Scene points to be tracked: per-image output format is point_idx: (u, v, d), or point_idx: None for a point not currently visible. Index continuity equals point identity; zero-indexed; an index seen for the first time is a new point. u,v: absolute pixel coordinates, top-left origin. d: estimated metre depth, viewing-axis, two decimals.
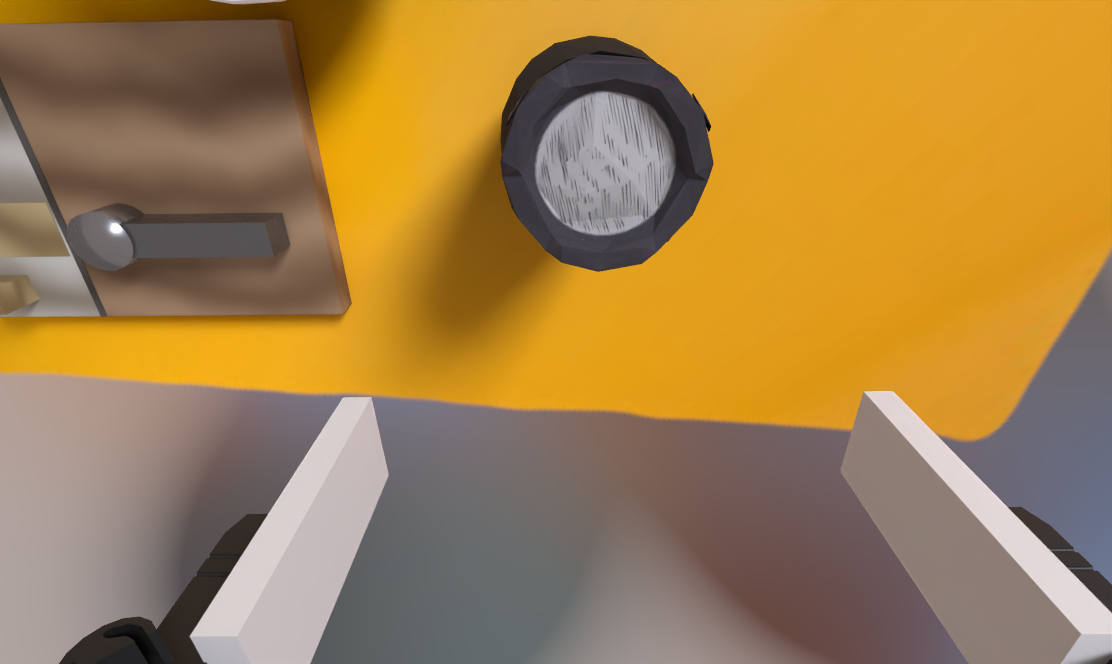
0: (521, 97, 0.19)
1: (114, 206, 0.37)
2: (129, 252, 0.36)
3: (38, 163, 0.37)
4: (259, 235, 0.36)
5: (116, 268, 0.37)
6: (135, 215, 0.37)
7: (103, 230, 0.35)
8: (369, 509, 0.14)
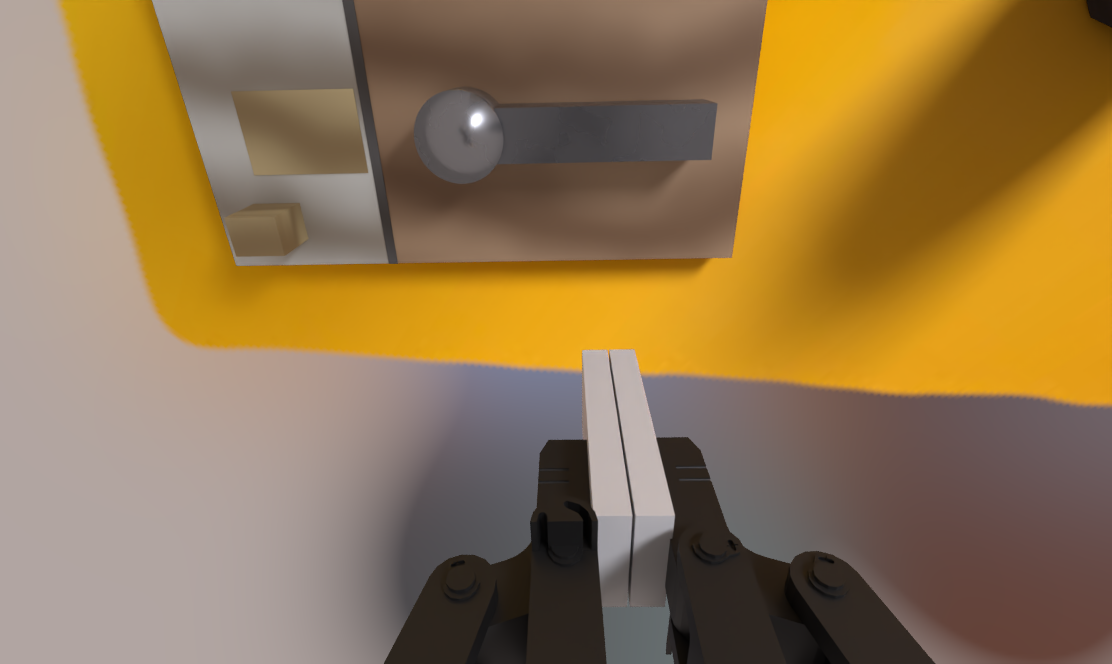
0: None
1: (469, 88, 0.25)
2: (500, 153, 0.24)
3: (357, 24, 0.25)
4: (701, 125, 0.24)
5: (472, 180, 0.25)
6: (495, 102, 0.25)
7: (471, 117, 0.23)
8: None
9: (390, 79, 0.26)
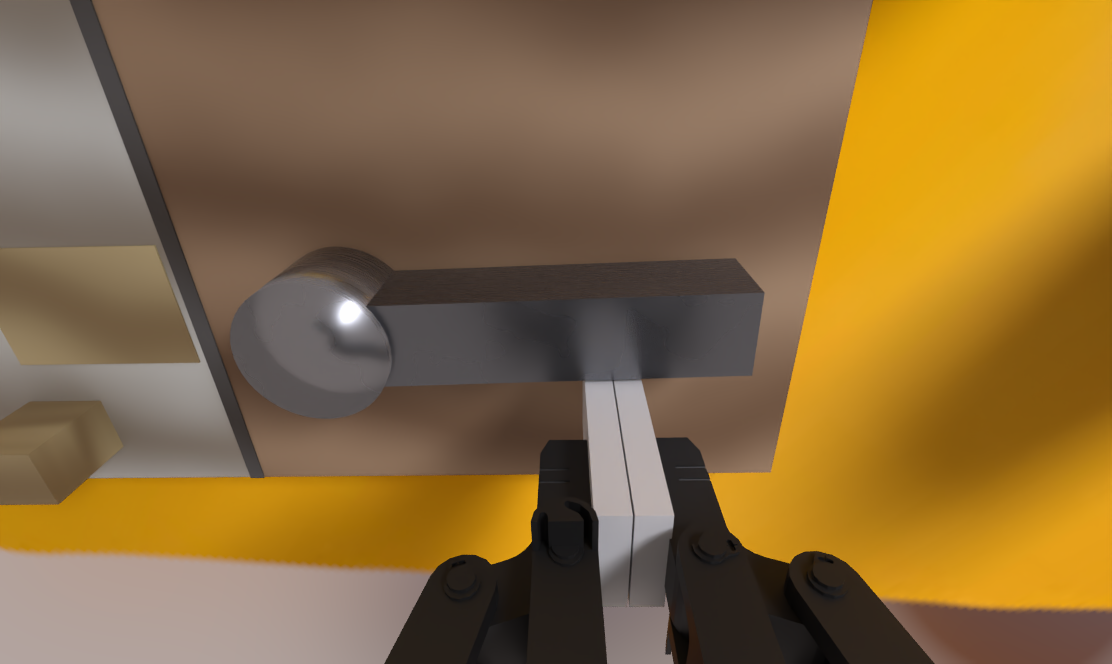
0: None
1: (335, 256, 0.14)
2: (385, 376, 0.14)
3: (145, 149, 0.14)
4: (735, 325, 0.13)
5: (344, 413, 0.14)
6: (383, 276, 0.15)
7: (328, 325, 0.13)
8: None
9: (214, 232, 0.15)
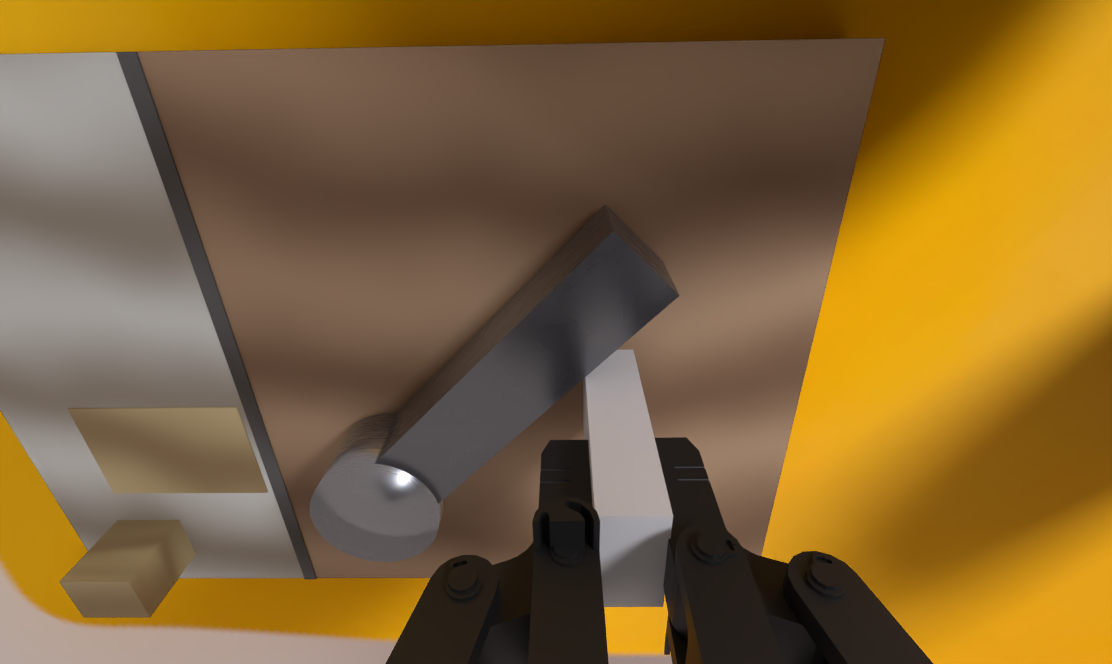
0: None
1: (350, 436, 0.18)
2: (427, 498, 0.16)
3: (235, 339, 0.17)
4: (620, 272, 0.13)
5: (430, 539, 0.17)
6: (387, 426, 0.17)
7: (363, 492, 0.16)
8: None
9: (288, 398, 0.18)
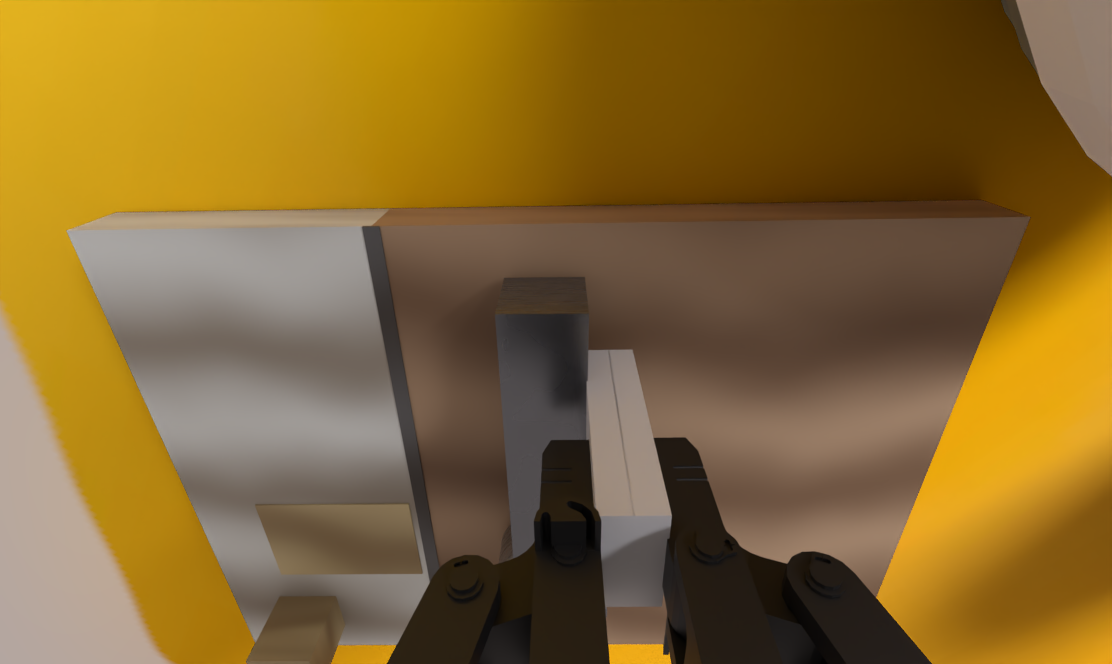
0: None
1: (499, 557, 0.20)
2: None
3: (418, 449, 0.19)
4: (530, 334, 0.14)
5: None
6: None
7: None
8: None
9: (456, 496, 0.20)
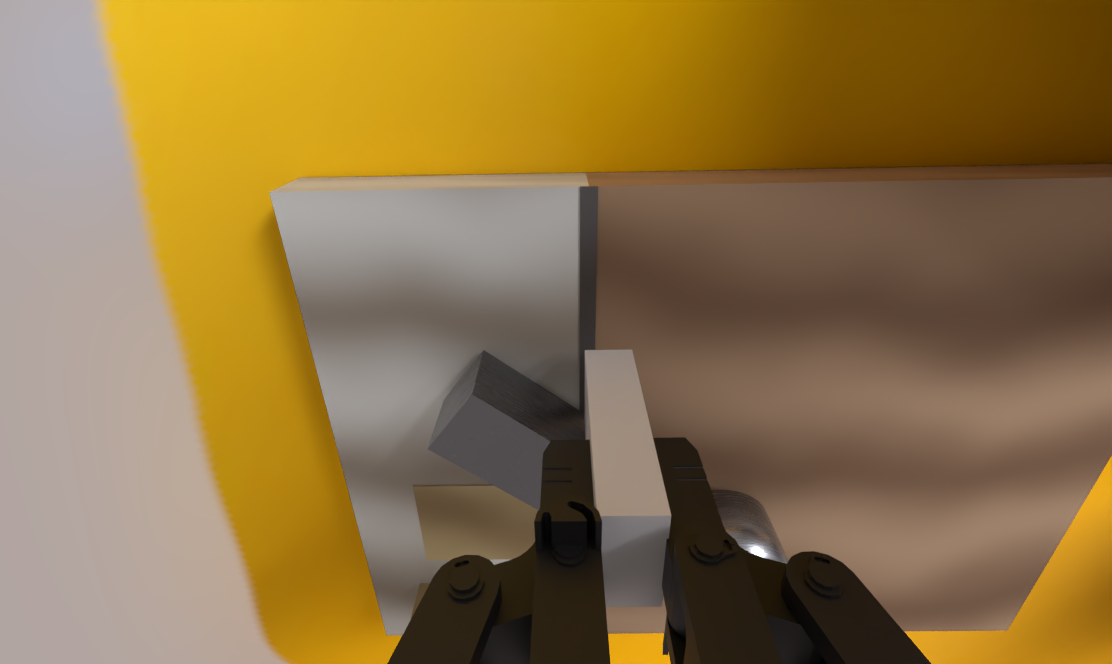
0: None
1: None
2: None
3: None
4: (461, 439, 0.15)
5: (769, 558, 0.17)
6: None
7: None
8: None
9: None
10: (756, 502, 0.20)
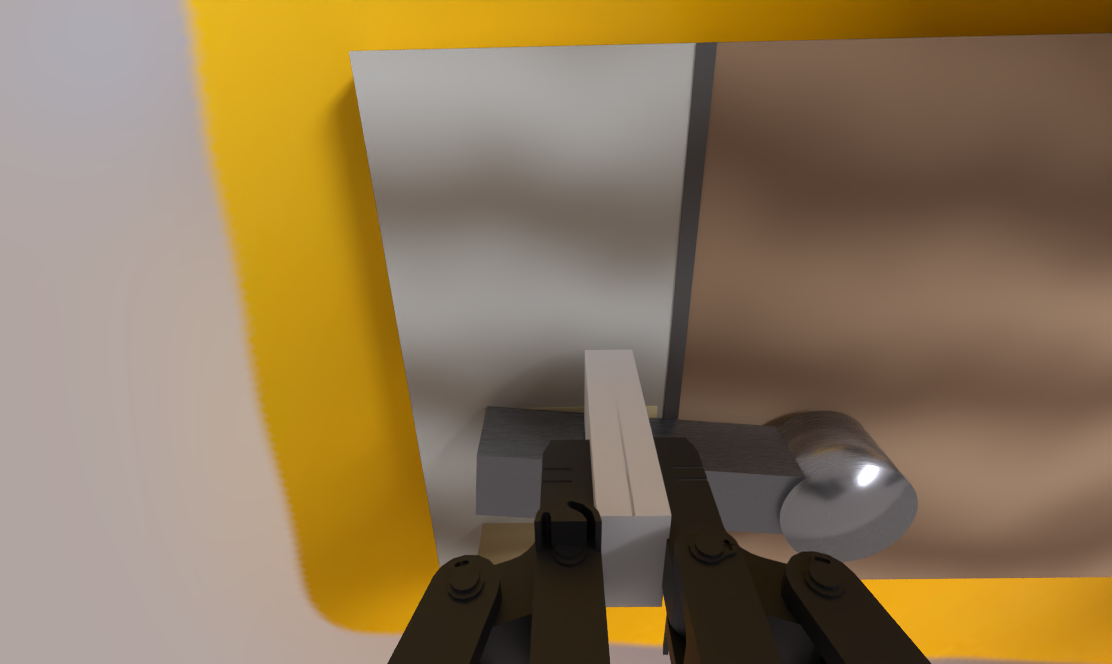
0: None
1: None
2: (797, 496, 0.16)
3: (686, 336, 0.17)
4: (495, 494, 0.16)
5: (854, 470, 0.15)
6: None
7: (818, 536, 0.17)
8: None
9: (713, 396, 0.18)
10: (832, 414, 0.18)
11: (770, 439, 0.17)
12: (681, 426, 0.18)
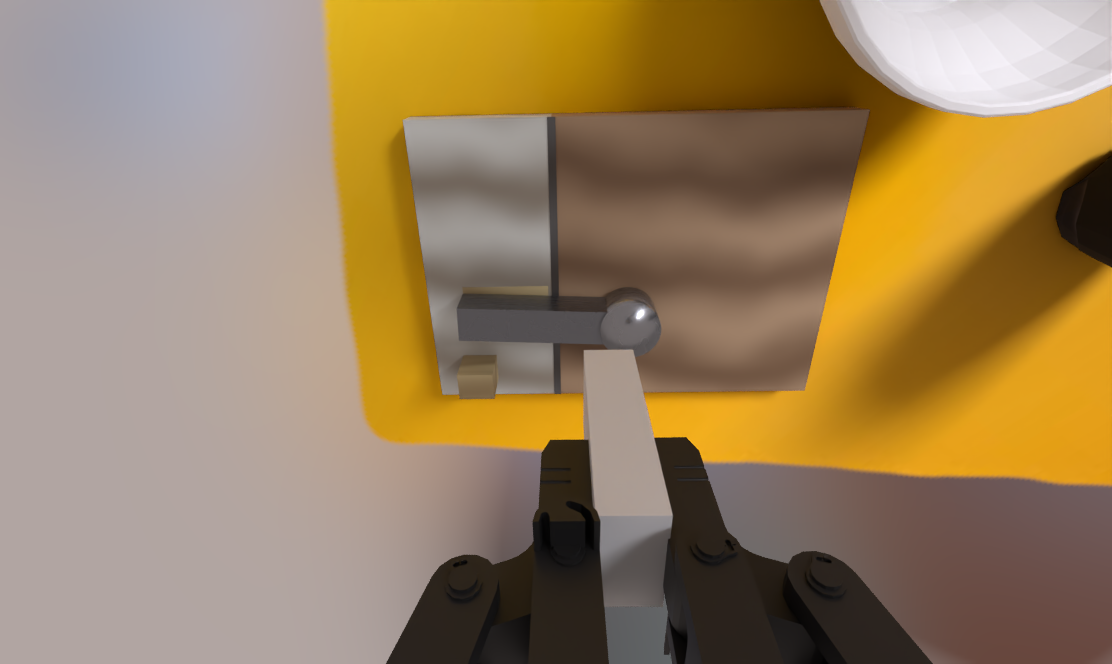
0: None
1: None
2: (604, 321, 0.35)
3: (558, 248, 0.36)
4: (467, 329, 0.35)
5: (626, 305, 0.34)
6: None
7: (619, 342, 0.35)
8: None
9: (575, 280, 0.37)
10: (629, 288, 0.36)
11: (599, 301, 0.36)
12: (556, 298, 0.37)
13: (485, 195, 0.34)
